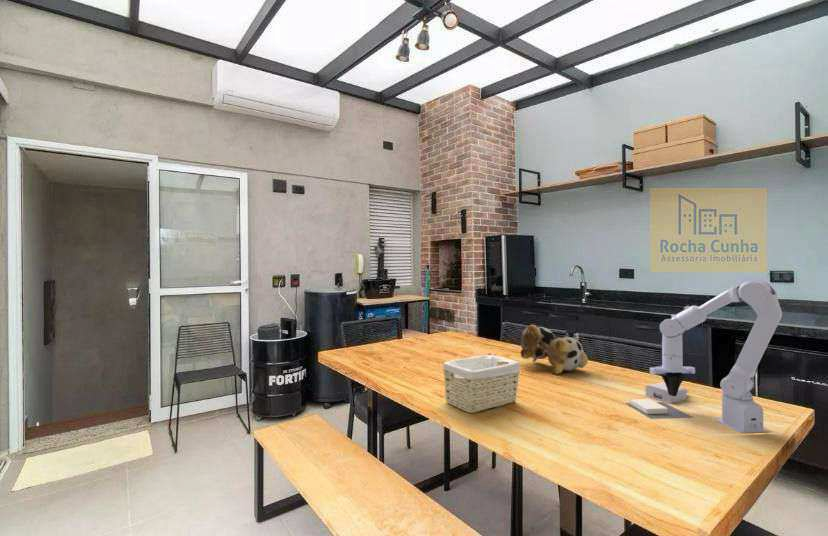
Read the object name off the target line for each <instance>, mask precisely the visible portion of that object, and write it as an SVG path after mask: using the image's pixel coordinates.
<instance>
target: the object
mask: <svg viewBox="0 0 828 536" xmlns="http://www.w3.org/2000/svg"><path fill="white" fill-rule="evenodd" d="M495 355H496V354H492V355H488V354H487V355H486V354H485V355H484V354H483V355H478V356H471V357H465V358H464V357H463V358H457V359H456V358H455V359H452V360H447V361H444V362H443V364H442V365H443V367H442V368H443V375H444V376H443V380H444V391H445V392H444V393H445V402H446V403H448V404H450V405H451V406H454V407H456V408H458V409H459V410H462V411H464V412H467V413H469V414H473V413H478V412H482V411H484V410H485V411H486V410H489V409H493V408H499V407H502V406H505V405H507V404H508V405H509V404H512V403H516V402H517V392H518V384H519V377H520V373H521V362H520V361H517V360H514V359H509V358H506V357H502V356H498V355H496V356H495Z"/></svg>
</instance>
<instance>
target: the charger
mask: <svg viewBox="0 0 828 536" xmlns="http://www.w3.org/2000/svg"><path fill="white" fill-rule="evenodd" d="M688 393H689V391H688V389H687V388H685V387H683V386H680V387H679V389H678V392H677V396H671V395H669V394H668V390H667V387H666V384H665V382H658V383H657V382H656V383H653V384H647V385H645V397H649V398H651V399H655V400H658V401H660V402H664V403H667V404H673V403H678V402H682V401H686V400H687V394H688Z"/></svg>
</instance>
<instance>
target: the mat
mask: <svg viewBox="0 0 828 536" xmlns="http://www.w3.org/2000/svg"><path fill="white" fill-rule="evenodd" d="M655 402H656V403H658V404H660V405H662V406H664V407H666V408H668V413H667V414H646V413H644V412H642V411H641V410H639V409H637V408H636V407H634V406H632V405H631V404H630V402H624V404H625V405H626V406H629V407H630V408H632V409H633V410H635V411H637V412H639V413H640V414H642V415H644V416H645V417H647V418H649V419H650V420H655V419H656V420H657V419H661V420H662V419H685V418H686V419H690V418H694V416H691V415H690V414H688V413H686V412H683V411H681V410H679V409H677V408H676V407H673V406H671V405H670V404H669V403H667V402H664V401H658V402H657V401H655Z"/></svg>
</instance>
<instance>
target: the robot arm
mask: <svg viewBox="0 0 828 536" xmlns="http://www.w3.org/2000/svg"><path fill="white" fill-rule="evenodd" d="M740 302H745V303H746V304H747V305H748V306H749V307H751V308H752V310H753V311H754V312H755V314H756V315H757V317H756V319H755V321H754V324H753V326H752V328H751V330H750V332H749V334H748V336H747V339H746V341H745V342H744V345H743V347H742V349H741V351H740V353H739V354H738V358H737V359H736V361H735V364H734V365H733V366H732V368H731V369H730V371H729V373H728V374H727V375H726V376H725V377H723V378H722V379H721V381H720V383H719V385H720V389H721V391H722V392H721V393H722V394H721V418H714V421H716V422H718V423H720V424H722V425H725V426H726V427H729V428H731V429H732V430H734V431H737V432H738V433H761V432H767V429H764V409H763V407H762V405H760V404H759V403H758V402H755V400H754V398H753V397H754V396H753V394H752V393H751V391H752V389H753V388H754V387H755V382H754V377H755V375H756V370H757V368H758V365H759V364H760V362H761V359H762V358H763V355H764V354H765V351H766V350H767V347H768V345H769V343H770V341H771V339H772V337H773V336H774V334H775V331H776V329H777V328H778V326H779V323H780V321H781V319H782V317H783V311H782V309H781V306H780V302H779V299H778V293H777V291H776V290H775V288H773V286H772V285H771V284H770V283H769V282H768V281H765V280H761V279H759V280H758V279H756V280H749V281H745V282H743V283H741V284H740V285H739V284H738V285H736V286H733V287H731V288H728V289H727V290H725V291H723V292H721V293H720V294H718V295H716V296H715V297H713V298H711V299H710V300H708V301H706V302H705V303H703V304H701V305H699V306H698V305H691V306H690V305H686V306H685V307H684V308H683V310H682V311H680V312H678V313H677V314H675V313H674V314H672V315H671V318H665V319H664V320H663V321H661V322H660V323H659V331H660V333H661V335H662V338H661V347H662V349H661V357H662V358H661V360H662V362H661V363H662V364H661V365H660V366H653V367H649V374H650V375H654V376H655V375H660V376H661V378H662V380H663V381H664V382H665V384H666V387H667V390H668V394H669V395H671V396H677V392H678V389H679V387H681V385H682V383H683V382H684V380H685V378H686V376H685V375H683V374H691V375H693V374H696V367H693V366H684V365H683V363H684V362H683V361H684V360H683V359H684V357H683V352H684V351H683V343H684V342H683V334H684V333H685V331H689V330H690V329H693V328H694V327H696V326H698V325H700V324H702V323H704V322H705V321H706V320H707V317H708V315H709V314H711V313H713V312H715V311H717V310H719V309H720V308H723V307H724V306H727V305H729V304H731V303H740Z"/></svg>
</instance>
